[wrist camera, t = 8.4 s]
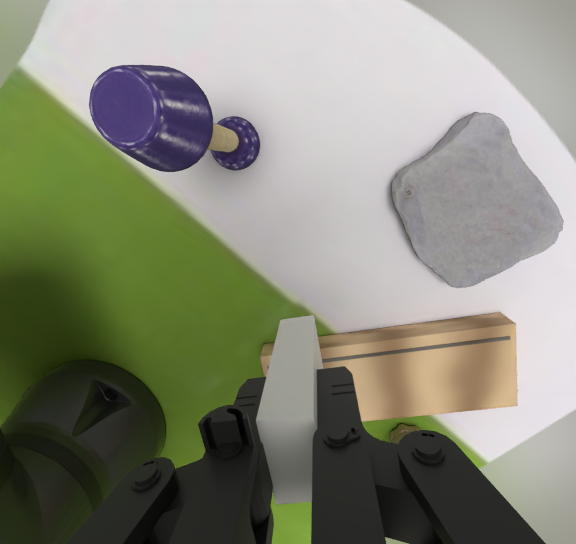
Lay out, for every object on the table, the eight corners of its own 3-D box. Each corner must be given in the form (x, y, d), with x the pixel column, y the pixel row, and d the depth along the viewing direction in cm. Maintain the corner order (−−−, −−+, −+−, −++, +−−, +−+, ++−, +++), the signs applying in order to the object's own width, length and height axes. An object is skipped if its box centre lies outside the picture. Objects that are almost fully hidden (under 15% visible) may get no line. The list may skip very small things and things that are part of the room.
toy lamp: (244, 184, 30) (158, 190, 14) (196, 159, 29) (50, 135, 13) (268, 131, 28) (204, 68, 12) (218, 105, 28) (86, 4, 12)
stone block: (444, 285, 32) (555, 223, 28) (453, 307, 28) (586, 238, 24) (370, 185, 31) (477, 105, 27) (368, 192, 27) (494, 98, 23)
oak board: (279, 413, 35) (276, 430, 33) (263, 343, 33) (259, 357, 31) (502, 389, 33) (518, 406, 30) (500, 312, 31) (516, 324, 28)
